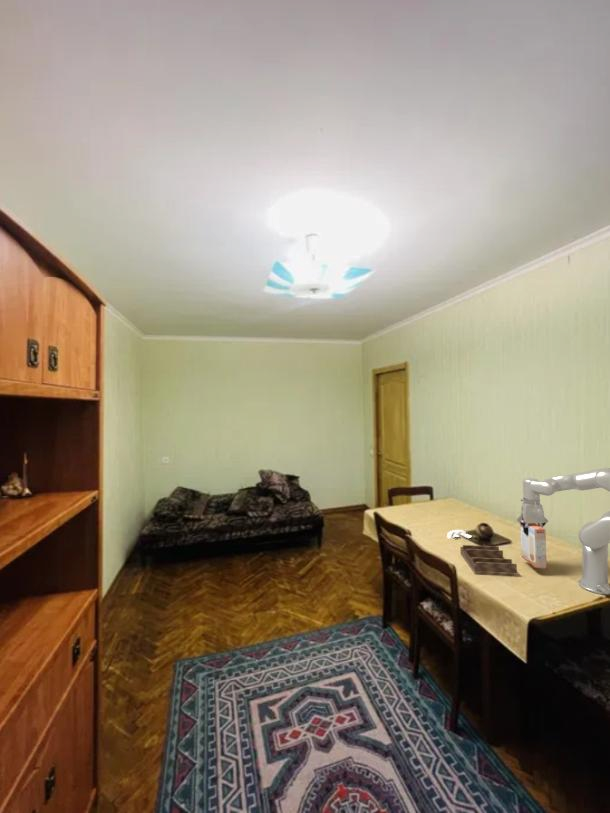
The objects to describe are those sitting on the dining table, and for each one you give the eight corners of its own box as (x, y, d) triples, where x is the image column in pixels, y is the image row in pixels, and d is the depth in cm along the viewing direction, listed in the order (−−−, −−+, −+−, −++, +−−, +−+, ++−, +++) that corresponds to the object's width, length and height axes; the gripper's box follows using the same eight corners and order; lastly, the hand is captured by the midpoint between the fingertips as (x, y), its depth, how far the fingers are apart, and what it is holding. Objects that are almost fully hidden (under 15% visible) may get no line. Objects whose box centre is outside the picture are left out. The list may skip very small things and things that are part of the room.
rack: (499, 555, 199) (499, 545, 199) (519, 576, 175) (519, 565, 175) (460, 554, 202) (460, 544, 202) (474, 574, 178) (474, 563, 178)
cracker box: (547, 568, 175) (546, 528, 176) (535, 568, 176) (533, 528, 176) (532, 557, 189) (530, 520, 190) (521, 556, 190) (519, 520, 190)
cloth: (463, 530, 242) (463, 526, 242) (483, 542, 220) (483, 538, 220) (437, 532, 239) (436, 528, 239) (455, 544, 217) (454, 540, 217)
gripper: (518, 503, 181) (519, 536, 180) (552, 503, 178) (554, 537, 178) (511, 499, 188) (512, 531, 188) (544, 499, 186) (546, 532, 185)
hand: (532, 534), depth 183 cm, fingers closed on cracker box, 6 cm apart
